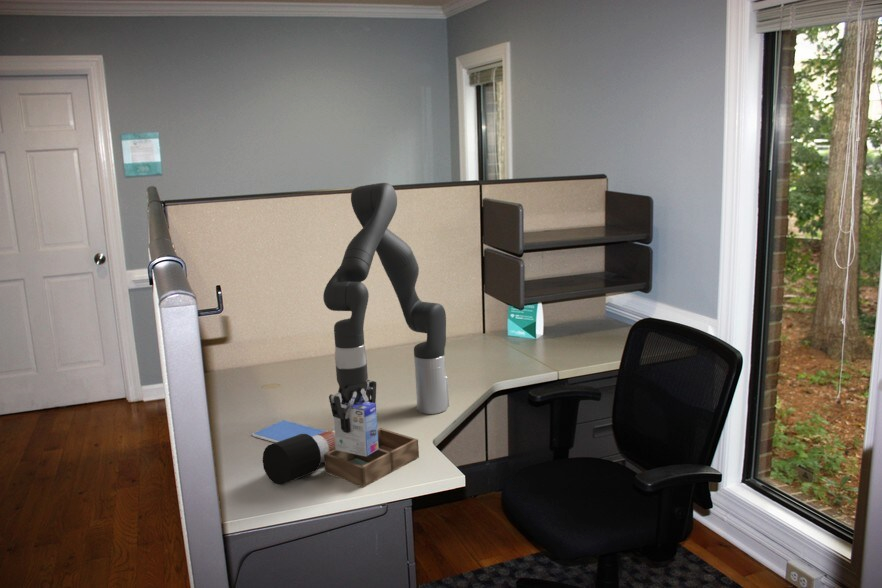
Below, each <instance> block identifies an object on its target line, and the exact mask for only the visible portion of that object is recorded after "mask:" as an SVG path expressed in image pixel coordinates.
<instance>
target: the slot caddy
mask: <svg viewBox="0 0 882 588" xmlns="http://www.w3.org/2000/svg"><path fill="white" fill-rule="evenodd" d="M377 430H378V446H379V449H378V450H377V451H375V452H373V453H372V454H370V455H368V456H361V455H356V454H352V453H347V452H342V451H337V450H336V449H334V450H332V451H330V452H328V453H326V454H324V458H325V462H324V467H325V473H326V474H328V475H329V476H333V477H335V478H336V477H337V478H338V479H341V480H343V481H345V482H346V481H347V482H349V483H351V484H353V485H357V486H359V487H362V488H365V487H367V486H369V485H370V484H373V483H375V482H376V481H378V480H379V479H382V478H384V477H386V476H388V475H389V474H391V473H393V472H395V471H397V470H399V469H400V468H402V467H405V466H406V465H408V464H409V463H412V462H413V461H415V460H417V459H419V458H420V451H419V450H420V449H419V448H420V446H419V438H415V437H412V436H411V437H410V436H407V435H405V434H402V433H398V432H396V431H391V430H389V429H386V428H383V427H382V428H381V427H380V428H377Z"/></svg>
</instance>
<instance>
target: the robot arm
mask: <svg viewBox="0 0 882 588" xmlns="http://www.w3.org/2000/svg"><path fill="white" fill-rule="evenodd" d="M350 203H351V206H352V209H353V213H354V214H355V216H356V218H357V221H358V222H359V224H360V225H361V226H362V229H360V230H359V231H358V233H356V234H355V236H354V237H353V238H352V239H351V240H350V242H349V243H348V245H347V246H346V249H345V252H344V255H343V258H342V261H341V264H340V266H339V267H338V268H337V270H336V271H335V272H334V274H333V275H332V276H331V278H330V279H329V281H328V282H327V284H326V286H325V288H324V291H323V294H322V295H323V302H324V305H325V306H326V308H327V309H328V310H330V311H333V312H336V311H337V312H351V315H350V318H346V319H341V320H338V321H337V322H335V323H334V326H333V335H334V361H335V371H336V372H335V373H336V381H337V382H336V383H337V384H338V386H339V387H338V391H337V392H336V393H334V394H329V396H328V400H329V404H330V409H331V414H332V417H333V418H334V417H336V418H339V419H340V421H341V429H342V430H343V432H346V433H349V432H350V418H349V414H350V410H352V408H353V404H355V403H356V402H359V400H360V397H361V396H362V402H370V403H376V404H377V381H375V380H370V379H369V376H368V375H369V374H368V360H367V351H366V346H365V335H364V334H365V333H364V332H365V331H364V324H365V319H366V318H365V317H366V310H367V307H368V304H369V299H370V298H369V289H368V288H367V286H366V284H364V283H363V282H364V281H365V280H366V279H367V278H368V276H369V272H370V269H371V267H372V266H371V265H372V264H373V260H374V256H375V253H376V254H377V257H378V258H379V260H380V262H381V263H380V264H381V265H382V268H383V269H384V272H385V274H386V276H387V278H388V279H389V281H390V283H391V286H392V288H393V290H394V293H395V294H396V297H397V299H398V302H399V305H400V306H399V307H400V308H401V311H402V314H403V318H404V320H405V322H406V325H407V327H408V328H409V329H410V330H411V331H413V332H416V333H421V334H426V341H422V342H419V343H417V344H415V346H414V347H413V357H414V358H413V360H414V376H415V377H414V378H415V391H416V392H415V394H416V395H415V396H416V410H417V412H419V413H421V414H426V415H435V414H440V413H443V412H445V411H447V409H448V407H450V397H449V396H450V395H449V394H450V393H449V378H448V376H447V374H446V354H445V352H446V351H445V350H446V344H447V315H446V310H445V308H444V306H443V305H442V304H440V303H437V302H428V301H422V300H421V299H420V297H419V296H418V294H417V291H416V284H417V281H418V277H419V270H420V268H419V263H418V261H417V259H416V257H415V254H414V252H413V250H412V248H411V246H409V244H408V243H407V242H406V241H405V240H403V239H402V238H401V237H399V236H398V235H396V234H395V233H394V232H392V230H390V229H388V227H389V225H390V224H391V222H392V220H393V218H394V216H395V213H396V211H397V206H398V195H397V193H396V190H395V188H394V187H393V185H392V184H390V183H388V182H380V183H379V182H378V183H377V182H376V183H372V184H365V185H361V186H357V187H355V188H354V189H352V191H351V194H350ZM345 403H348V405H345ZM344 408H345V409H346V410H345V413H344Z"/></svg>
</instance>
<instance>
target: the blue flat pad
mask: <svg viewBox="0 0 882 588" xmlns="http://www.w3.org/2000/svg"><path fill="white" fill-rule="evenodd" d="M327 431H328V430H323V429H320V428H315V427H312V426H307V425H304V424H301V423H298V422H297V423H296V422H294V421H293V422H292V421H289V420H285V419H284V420H280V421H278V422H276V423H273V424H271V425H269V426H266V427H264V428H262V429H260V430H257V431H256V432H253V433H252V435H251V436H252V437H254V438H258V439H262V440H264V441H267V442H268V441H269V442H272V443H276V442H279V441H282V440H285V439H288V438H291V437H294V436H297V435H299V434H308V435H310V436H311V437H312V436H315V435H318V434H321V433H324V432H327Z"/></svg>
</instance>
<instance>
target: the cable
mask: <svg viewBox="0 0 882 588" xmlns="http://www.w3.org/2000/svg"><path fill="white" fill-rule="evenodd" d="M326 431H327V432H324V433H321V434H318V435H315V436H312V437H311V436H310V435H308V434H299V435H297V436H294V437H291V438H288V439H285V440H282V441H279V442H276V443H275V442H272V443H271V444H268V445H267V446H266V447H265V448H264V451H263V453H262V459H261V460H262V466H263V470H264V472H265V474H266V476H267V478H268V480H270V481H271V482H272V483H273V484H276V485H285V484H287V483H290V482H292V481H295V480H298V479H300V478H303V477H305V476H307V475H309V474H312V473H314V472H316V471H317V470H318V469H319V468H320V465H321V463H323V464H325V458H324V454H326V453H328V452H330V451H332V450H334V449H336V447H335V430H334V429H333V430H326Z"/></svg>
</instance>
